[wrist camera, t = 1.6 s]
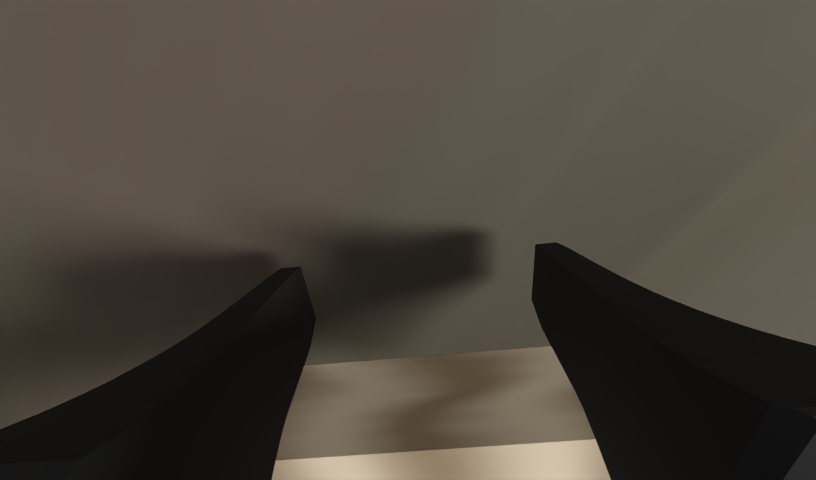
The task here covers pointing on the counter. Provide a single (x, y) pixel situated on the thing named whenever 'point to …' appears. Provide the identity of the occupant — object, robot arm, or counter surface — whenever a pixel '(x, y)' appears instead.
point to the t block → (439, 420)
